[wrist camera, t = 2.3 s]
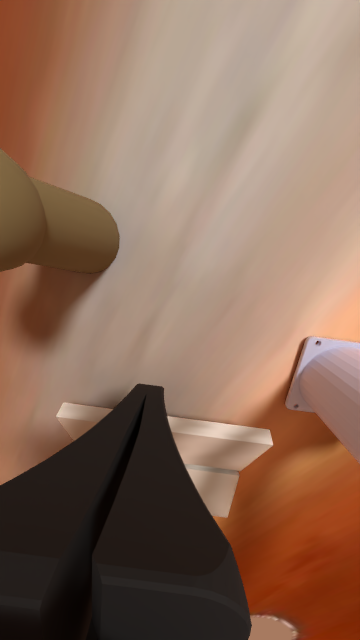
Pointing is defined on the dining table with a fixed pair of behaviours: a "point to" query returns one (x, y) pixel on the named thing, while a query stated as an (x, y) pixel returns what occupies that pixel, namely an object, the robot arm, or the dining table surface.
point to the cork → (51, 225)
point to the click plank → (186, 437)
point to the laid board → (214, 487)
